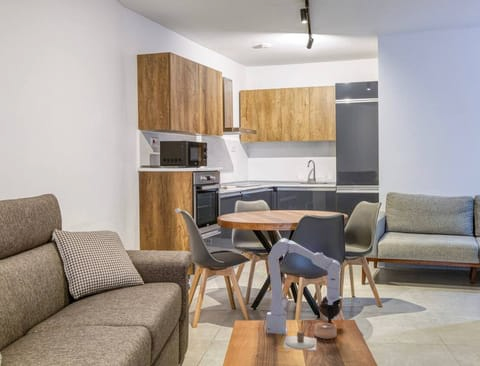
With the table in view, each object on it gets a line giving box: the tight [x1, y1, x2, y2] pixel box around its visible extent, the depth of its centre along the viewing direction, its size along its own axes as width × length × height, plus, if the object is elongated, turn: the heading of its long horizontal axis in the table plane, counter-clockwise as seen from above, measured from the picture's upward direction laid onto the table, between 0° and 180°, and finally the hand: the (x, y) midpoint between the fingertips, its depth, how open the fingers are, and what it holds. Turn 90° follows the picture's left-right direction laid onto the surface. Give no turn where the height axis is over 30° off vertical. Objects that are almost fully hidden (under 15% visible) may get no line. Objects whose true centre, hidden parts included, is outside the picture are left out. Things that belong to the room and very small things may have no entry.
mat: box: [283, 335, 318, 351], centre depth 219 cm, size 14×14×1 cm
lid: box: [286, 330, 315, 350], centre depth 219 cm, size 13×13×5 cm
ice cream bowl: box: [318, 296, 342, 325], centre depth 243 cm, size 11×11×15 cm
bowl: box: [314, 322, 338, 340], centre depth 228 cm, size 10×10×5 cm
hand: (332, 316), depth 228 cm, fingers open, 7 cm apart
